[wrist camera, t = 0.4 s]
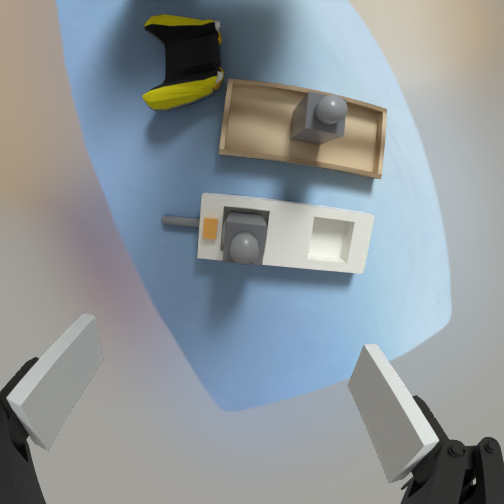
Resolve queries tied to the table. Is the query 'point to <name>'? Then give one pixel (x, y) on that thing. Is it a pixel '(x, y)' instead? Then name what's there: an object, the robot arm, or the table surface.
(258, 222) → the twin plug
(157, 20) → the gaming controller
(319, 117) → the plug
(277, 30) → the table surface
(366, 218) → the strip
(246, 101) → the tray
